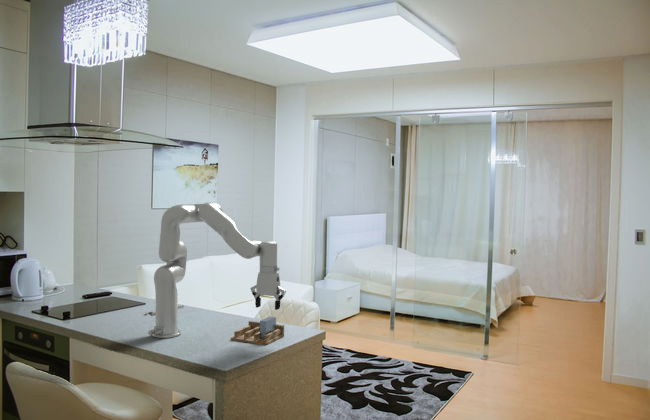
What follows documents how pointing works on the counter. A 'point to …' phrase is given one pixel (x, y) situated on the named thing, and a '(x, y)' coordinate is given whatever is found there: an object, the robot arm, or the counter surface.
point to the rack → (257, 334)
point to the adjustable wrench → (155, 311)
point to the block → (267, 326)
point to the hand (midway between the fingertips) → (267, 308)
